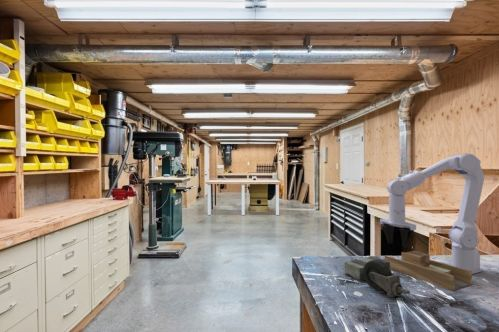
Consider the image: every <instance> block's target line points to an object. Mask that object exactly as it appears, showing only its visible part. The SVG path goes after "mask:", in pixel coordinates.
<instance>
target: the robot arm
mask: <svg viewBox="0 0 499 332" xmlns="http://www.w3.org/2000/svg"><path fill="white" fill-rule="evenodd" d="M481 162H482V161H481V160H480V159H479V158H478V157H477V156H476V155H475V154H472V153H463V154H453V155H451V156H448V157H445V158H443V159H442V160H439V161H438V162H436V163H434V164H432V165H430V166H428V167H426V168H425V169H423V170H421V171H420V170H409V172H408V173H407V174H405V175H403V176H402V177H401V176H399V177H397V180H396V179H395V180H391V181H389V182H388V184H387V187H386V189H387V193H389V194H388V213H389V214H388V219H386V218H380V220H379V224H380V225H381V229H382V230H383V234H384V235H385V237H386V241H387V244H393V242H394V231H395V228H396V227H397V228H399V232H400V237H401V247H402V248H407V247H408V245H409V242H410V239H411V236H412V235H413V233H414V231H416V230H417V224H415V223H410V222H407V221H406V194H407V193H408V191H411V190H413V189H414V188H417V187H419V186H421V185H424V184H425V181H426V179H428V178H430V177H432V176H434V175H437V174H439V173H441V172H444V171H446V170H452V171H454V172H456V173H458V174H459V175H461V177H462V178H463V179H465V182H464V187H463V193H462V197H461V203H460V206H459V213H458V215H457V217H458V218H457V220H455V221H454V223H453V225H452V228H451V229H450V230H449V231H448V238H449V239H450V241H452V242H451V266H455V267H459V268H462V269H466V270H469V271H472V275H474V274H477V273H480V272H483V271H484V270H483V269H481V254H480V251H479V249H478V248H477V246H478V244H480V243H479V241H480V239H479V236H478V232H479V229H478V227H477V226H476V221H477V215H478V211H479V210H478V209H479V205H480V200H481V196H482V192H483V191H482V190H483V186H484V182H485V175H484V172H483V169H482V166H481Z"/></svg>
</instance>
